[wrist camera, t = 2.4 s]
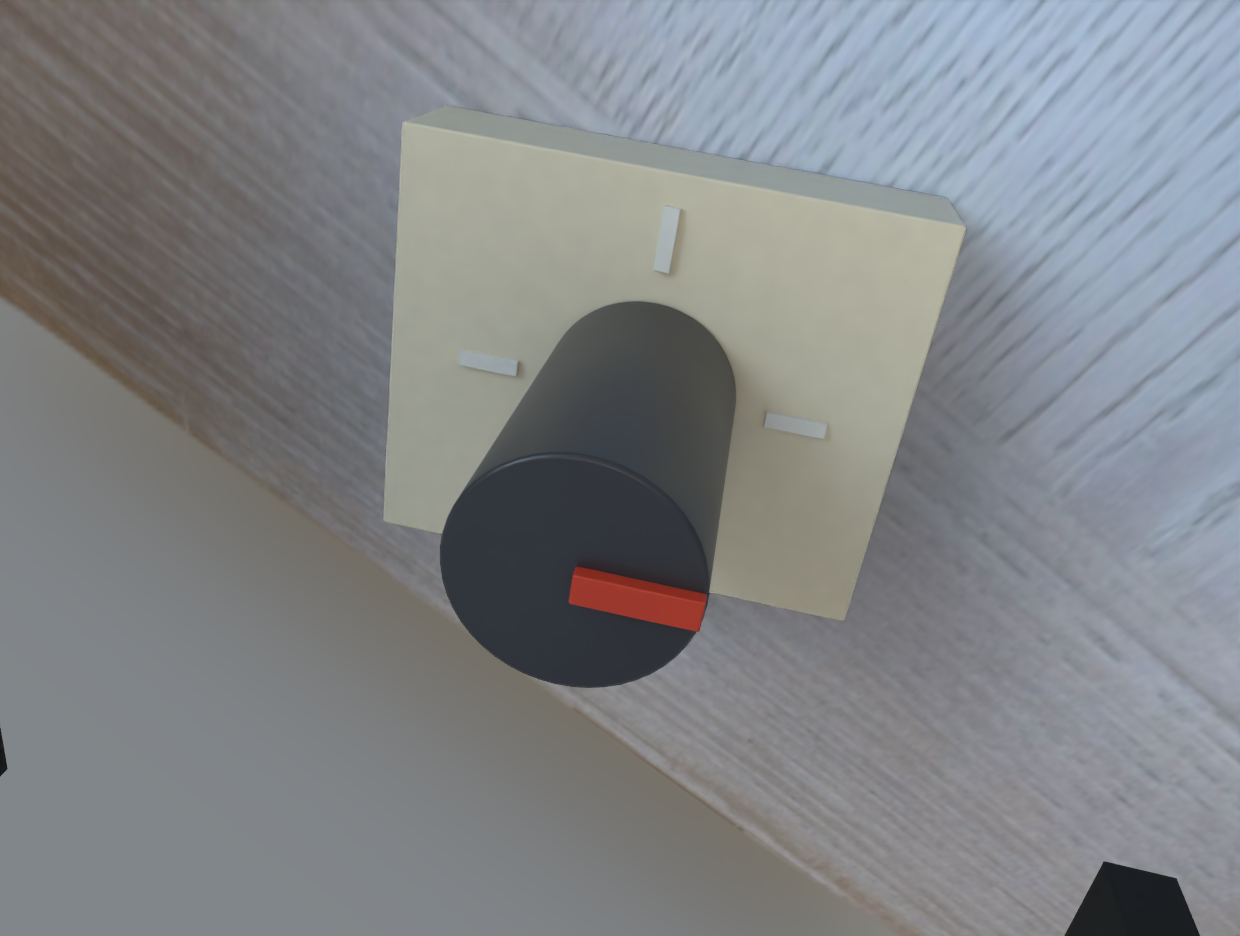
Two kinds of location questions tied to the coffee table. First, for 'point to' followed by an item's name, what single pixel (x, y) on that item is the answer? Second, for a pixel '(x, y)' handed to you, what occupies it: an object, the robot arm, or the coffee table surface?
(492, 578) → the dial
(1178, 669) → the coffee table surface
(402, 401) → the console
